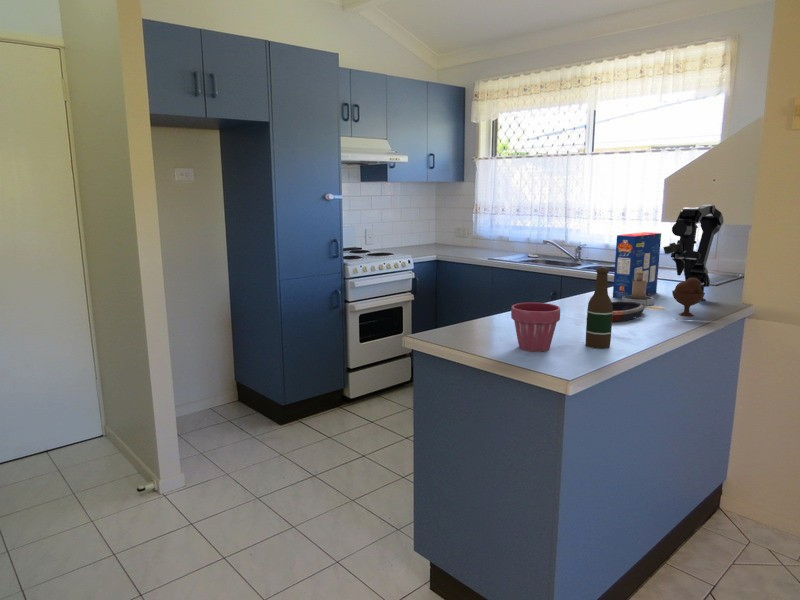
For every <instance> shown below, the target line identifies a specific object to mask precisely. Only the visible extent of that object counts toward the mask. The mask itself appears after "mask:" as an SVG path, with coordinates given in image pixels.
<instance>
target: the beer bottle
mask: <svg viewBox="0 0 800 600" xmlns="http://www.w3.org/2000/svg"><path fill="white" fill-rule="evenodd" d="M595 273H596V281H595V286H594V287H595V288H594V292H593V294H592V295H591V297H590V298H589V301H588V303H587V309H586V312H587V313H586V325H585V326H586V327H585V346H586V347H588V348H591V349H598V350H599V349H600V350H604V349H610V347H611V342H612V327H613V326H612V325H613V322H612V315H613V306H612V302H613V301H612V300H611V299H612V298H610V296H609V293H608V277H609V276H608V275H609V274H608V273H609V268H606V267H597V268H596V271H595Z"/></svg>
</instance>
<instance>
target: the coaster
mask: <svg viewBox="0 0 800 600" xmlns="http://www.w3.org/2000/svg"><path fill="white" fill-rule="evenodd" d="M645 309H646V310H653V311H654V310H656V311H658V310H659V311H666V309H665V307H663V306H655V305H649V306H645Z"/></svg>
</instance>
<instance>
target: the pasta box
mask: <svg viewBox="0 0 800 600" xmlns="http://www.w3.org/2000/svg"><path fill="white" fill-rule="evenodd" d="M661 241H662V233H660V232H649V231H648V232H635V233H634V232H633V233H627V234H626V233H624V234H618V235H616V244H615V245H616V246H615V259H614V270H613V271H614V274H613V286H612V288H613V289H612V299H622V296H625V295H632V283H633V280H637V271H644V273H643V281H647V282H646V294H645V296H650V295H654V294H656V293H657V290H658V289H657V287H658V276H659V268H660V267H659V265H660V256H661V255H660V253H661V244H662V243H661Z"/></svg>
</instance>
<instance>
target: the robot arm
mask: <svg viewBox="0 0 800 600" xmlns="http://www.w3.org/2000/svg"><path fill="white" fill-rule="evenodd" d="M698 223H700V228H701V231H702V233H701V236H700V241H699V243H698V244H699V245H698V247H697V251H695V245H696V244H697V240H696V236H697V229H698V228H699V226H698V225H697V224H698ZM722 225H724V216H723V214H722V212H721V211H720V210H719V209H717V207H716V205H715V204H704V203H703V204H702V205H699V206H696V207H683V208H682V209H681V210H680V212H679V214H678V217H677V219H676V220H675V223H674V224H673V225H672V228H671V232H672V234H673V235H674V236H677V237H679V239H678V240H677V242H671V243H669V245H664V246H663V250H664V255H669V254H670V258H671V260H672V261H673V262H674V263H675V267H676V274H677V276H681V275H682V273H684V274H683V275H684V281H686V280H687V279H688V278H697V279H698V280H699V281H700V282H701V290H702V292H704V293H705V288H708V287H710V285H711V280H710V276H709V271H708V268H707V261H708V258H709V256H710V255H709V254H710V251H711V247H712V244H713V240H714V237H715V235H716V234H717V233H718V232H720V231H721V228H722ZM706 300H707V299H706V298H705V297H703V299H702V300H701V301H706Z"/></svg>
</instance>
